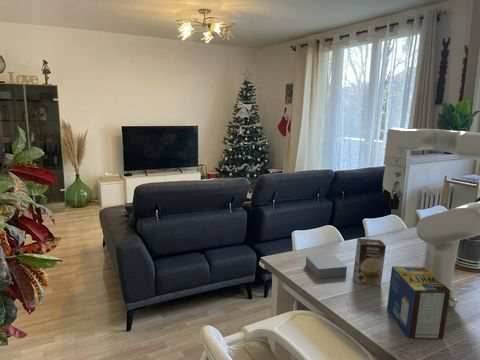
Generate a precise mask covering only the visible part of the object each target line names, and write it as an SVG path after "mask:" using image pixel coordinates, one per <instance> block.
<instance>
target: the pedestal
mask: <svg viewBox="0 0 480 360" xmlns="http://www.w3.org/2000/svg"><path fill="white" fill-rule="evenodd" d="M305 266H306V267H307V268H308V269H309V271H310V272H311V273H312V274H313V275H314V276H315V278H316V279H329V278H344V277H347V270H348V267H347V266H346V264H344V263H343V262H342V261H341V260H340V259H339V258H337V257H336V256H335V255H334V254H332V253H331V254H322V255H321V254H319V255H307V256H306V257H305Z"/></svg>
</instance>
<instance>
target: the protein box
mask: <svg viewBox="0 0 480 360" xmlns="http://www.w3.org/2000/svg"><path fill="white" fill-rule="evenodd" d="M389 281H390V282H389V287H388V288H389V290H388V296H387V297H388V299H387V305H386V309H387V311H388V312H389V314H390V316H392V318H393V319H394V321H395V322H396V324H397V325H398V326H399V327H400V329H401V331H402V332H403V333H404V334H405V336H406V337H407V338H408V339H423V340H425V339H426V340H427V339H428V340H430V339H432V340H434V339H435V340H436V339H437V340H441V339H442V340H444V338H445V337H444V335H445V329H446V322H447V315H448V312H449V311H448V310H449V306H448V304H449V298H450V290H449V289H448V288H447V287H446V286H445V285H443V284H442V283H441V282H440V281H439V280H438V279H437V278H435V277H434V276H433V275H432V274H431V273H430V272H428V271H427V270H426V269H425V268H424V267H422V266H404V265H403V266H398V265H392V266H391V273H390V280H389Z"/></svg>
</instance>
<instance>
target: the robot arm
mask: <svg viewBox="0 0 480 360" xmlns="http://www.w3.org/2000/svg"><path fill="white" fill-rule="evenodd" d="M384 149H385V150H384V159H383V165H384V172H383V179H382V192H381V193H382V195H381V202H382V203H389V204H388V205H389V207H388V208H389V210H396V211H398V210H399V209H400V200H401V195H402V194H403V192H404V187H405V167H406V163H407V158H408V157H407V156H408V155H407V154H408V151H414V152H419V151H427V150H428V151H437V152H438V151H439V152H444V153H450V154H452V155H454V156H455V157H457V158H460V159H466V160H474V161H480V132H477V131H476V132H475V131H468V130H467V131H466V130H465V131H464V130H460V131H459V130H458V131H457V130H449V129H448V130H447V129H435V128H413V129H412V128H411V129H407V128H404V127H391V128H389V129H388V130H387V133H386V141H385V148H384ZM415 229H416V230H415V231H416V235H417V237H418V238H419V239H420V240H421V241H422V242H424V243H425V247H424V252H423V260H422V266H421V267H424V268H425V269H426V270H427V271H428V272H430V273H431V274H432V275H433V276H434V277H435V278H437V279H438V280H439V281H440V282H441V283H442V284H443V285H445V286H446V287H447V288H448V289H449V290H450V298H449V304H448V307H451V308H453V307H455V305H456V304H457V303H458V301H459V300H458V299H457V298H456V297H454V295H453V294H454V291H453V290H452V284H453V280H454V272H455V266H456V260H457V255H458V249H459V245H460V242H461V240H467V239H470V238H473V237H477V236H479V235H480V200H479V201H476V202H469V203H465V204H463V205H460V206H457V207H454V208H450V209H447V210H439V211H437V212H434V213H432V214H429V215H426V216H424V217H421V218H420V219H419V221H417V225H416V228H415Z"/></svg>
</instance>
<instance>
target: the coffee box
mask: <svg viewBox="0 0 480 360" xmlns="http://www.w3.org/2000/svg"><path fill="white" fill-rule="evenodd" d="M386 249H387V246H386V244H385V243H384V241H382V240H381V239H373V238H372V239H369V238H368V239H367V238H359V237H358V238H357V241H356V249H355V257H354V266H353V272H352V274H353V275H352V277H353V280H354V281H355V283H356V284H359V285H367V286H378V287H379V286H382V278H383V272H384V265H385V263H384V262H385V257H386V255H385V254H386Z"/></svg>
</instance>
